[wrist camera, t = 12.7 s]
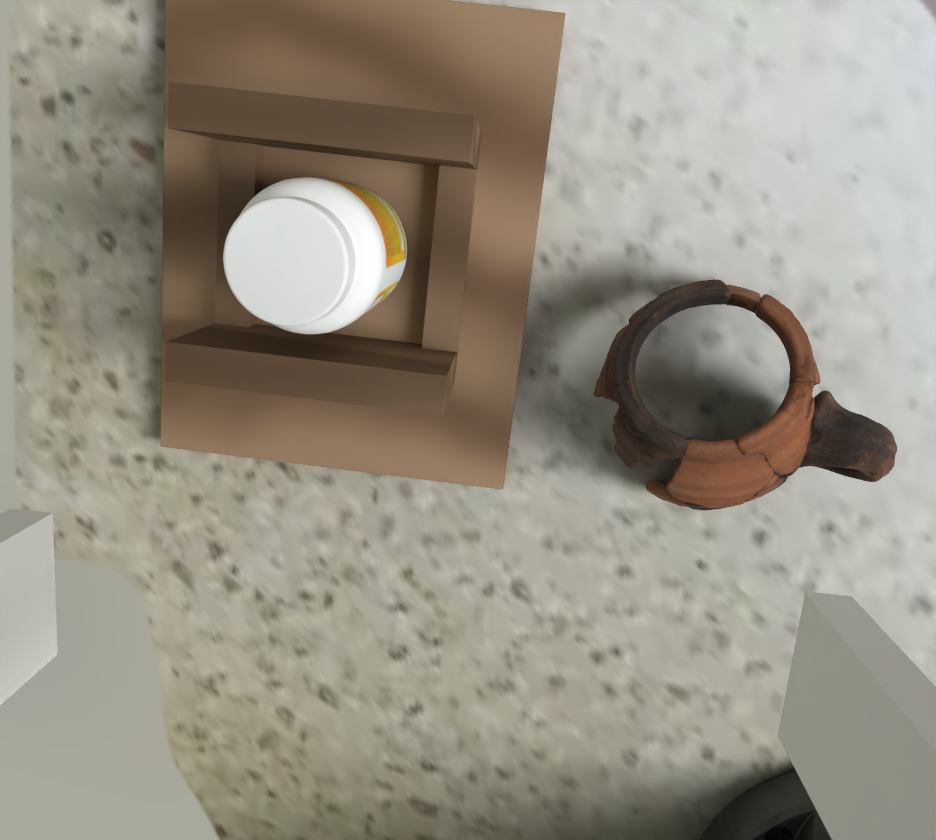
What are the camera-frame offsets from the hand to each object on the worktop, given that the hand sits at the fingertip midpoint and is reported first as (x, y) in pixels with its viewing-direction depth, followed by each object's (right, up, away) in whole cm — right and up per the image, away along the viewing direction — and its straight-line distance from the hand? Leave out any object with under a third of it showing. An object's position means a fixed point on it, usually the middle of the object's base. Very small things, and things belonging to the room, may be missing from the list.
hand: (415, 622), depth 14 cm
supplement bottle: (-4, +11, +20) cm, 24 cm away
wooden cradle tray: (-4, +11, +21) cm, 24 cm away
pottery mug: (+12, +5, +22) cm, 26 cm away
